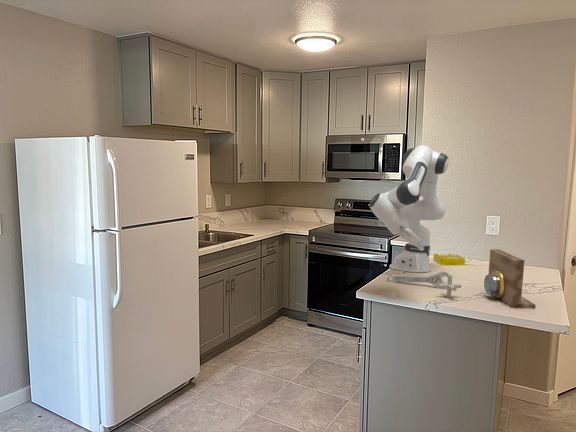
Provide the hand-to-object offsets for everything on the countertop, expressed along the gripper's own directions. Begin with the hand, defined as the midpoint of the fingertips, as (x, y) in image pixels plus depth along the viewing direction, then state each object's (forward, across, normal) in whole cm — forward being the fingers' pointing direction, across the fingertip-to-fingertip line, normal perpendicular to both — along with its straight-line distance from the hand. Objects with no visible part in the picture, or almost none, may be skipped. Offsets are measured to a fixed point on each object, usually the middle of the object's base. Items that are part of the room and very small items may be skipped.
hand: (419, 247), depth 193 cm
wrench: (+19, +19, +12) cm, 29 cm away
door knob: (+38, 0, -8) cm, 39 cm away
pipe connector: (+25, 0, +6) cm, 26 cm away
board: (+44, 0, -13) cm, 46 cm away
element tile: (+42, +74, -11) cm, 86 cm away
